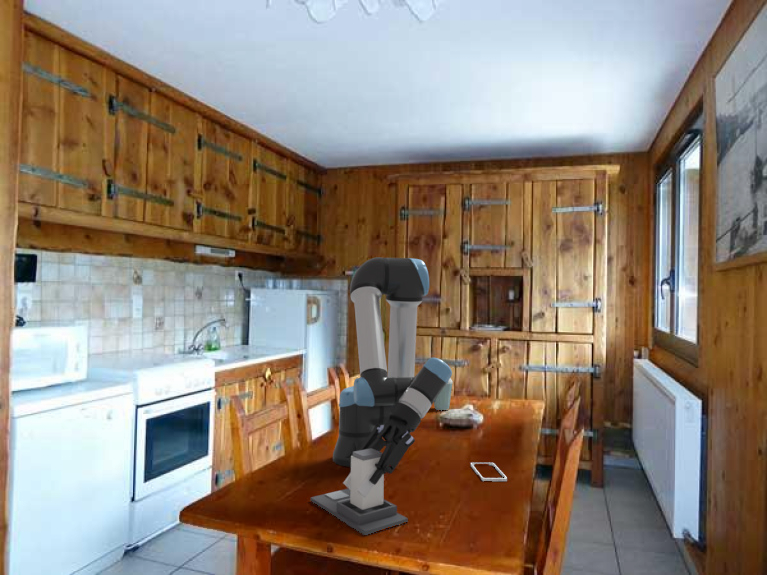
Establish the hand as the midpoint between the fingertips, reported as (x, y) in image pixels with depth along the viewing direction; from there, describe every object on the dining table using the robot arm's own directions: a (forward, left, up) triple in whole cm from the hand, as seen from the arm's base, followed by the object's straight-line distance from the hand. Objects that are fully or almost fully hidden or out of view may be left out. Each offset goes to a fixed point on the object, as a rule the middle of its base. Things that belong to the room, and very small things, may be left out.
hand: (354, 490), depth 124 cm
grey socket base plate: (-4, +4, -7) cm, 9 cm away
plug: (0, +4, -4) cm, 5 cm away
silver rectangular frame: (-6, +53, -8) cm, 53 cm away
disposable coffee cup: (-81, +104, -7) cm, 132 cm away
